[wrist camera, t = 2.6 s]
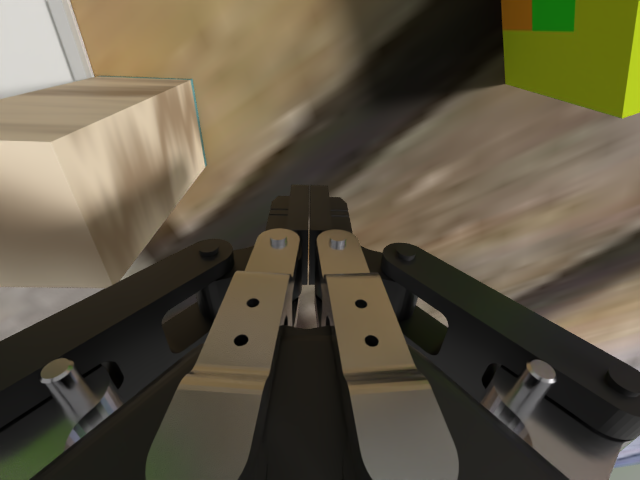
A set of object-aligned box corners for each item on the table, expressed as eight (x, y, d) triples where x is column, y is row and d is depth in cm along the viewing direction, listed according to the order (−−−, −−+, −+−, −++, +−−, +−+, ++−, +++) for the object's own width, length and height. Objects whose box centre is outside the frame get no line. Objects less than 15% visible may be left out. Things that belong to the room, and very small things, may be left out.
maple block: (100, 75, 21) (-157, 135, 10) (192, 79, 21) (50, 142, 10) (127, 162, 24) (-39, 286, 13) (206, 165, 25) (113, 288, 13)
